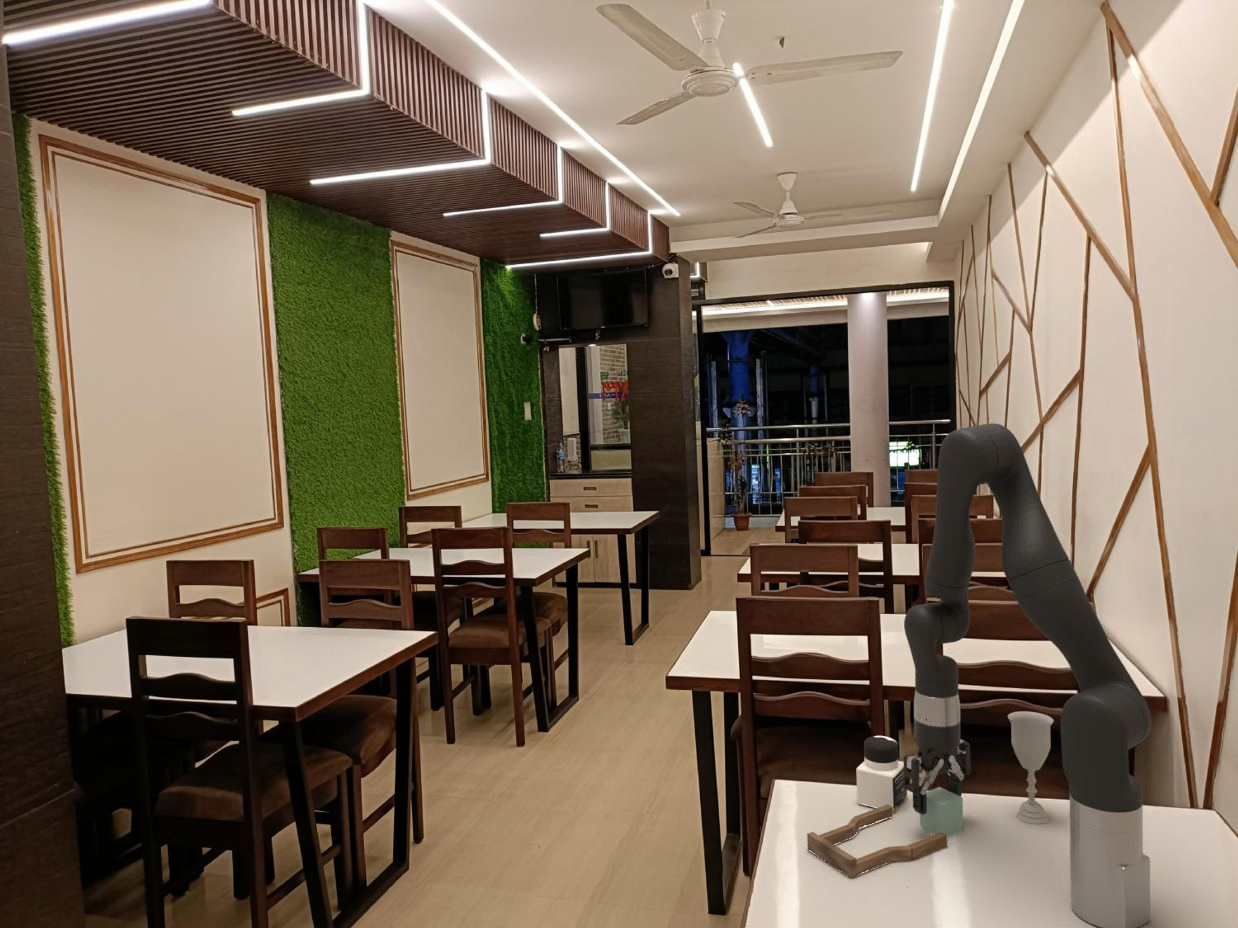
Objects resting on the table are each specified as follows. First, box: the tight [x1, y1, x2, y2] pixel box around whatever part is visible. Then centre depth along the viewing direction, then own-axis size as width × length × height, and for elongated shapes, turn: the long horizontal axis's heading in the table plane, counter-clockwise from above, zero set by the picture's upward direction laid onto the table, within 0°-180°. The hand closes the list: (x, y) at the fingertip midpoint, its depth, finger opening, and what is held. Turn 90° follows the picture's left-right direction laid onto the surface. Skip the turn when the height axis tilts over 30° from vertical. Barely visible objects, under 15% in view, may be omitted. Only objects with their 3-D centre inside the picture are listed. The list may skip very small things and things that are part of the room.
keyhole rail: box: [806, 804, 948, 879], centre depth 149 cm, size 13×20×3 cm
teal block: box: [919, 786, 964, 838], centre depth 154 cm, size 5×5×6 cm
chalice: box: [1007, 711, 1054, 825], centre depth 156 cm, size 7×7×18 cm
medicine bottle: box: [855, 735, 908, 814], centre depth 165 cm, size 7×7×12 cm
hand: (937, 805), depth 154 cm, fingers open, 8 cm apart
